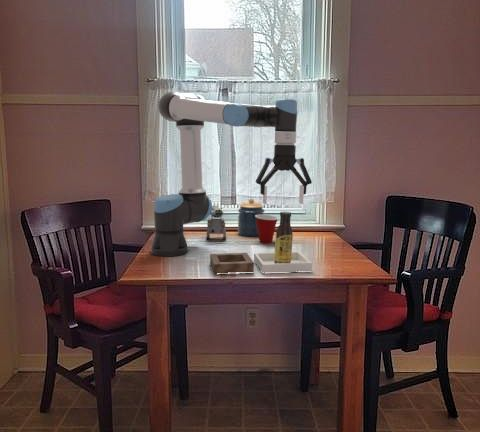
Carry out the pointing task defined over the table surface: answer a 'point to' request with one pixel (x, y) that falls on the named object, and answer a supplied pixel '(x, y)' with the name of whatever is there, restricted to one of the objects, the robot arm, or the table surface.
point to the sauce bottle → (283, 239)
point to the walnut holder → (231, 263)
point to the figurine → (216, 223)
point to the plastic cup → (266, 227)
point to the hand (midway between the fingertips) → (282, 203)
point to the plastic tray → (267, 263)
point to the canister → (249, 218)
